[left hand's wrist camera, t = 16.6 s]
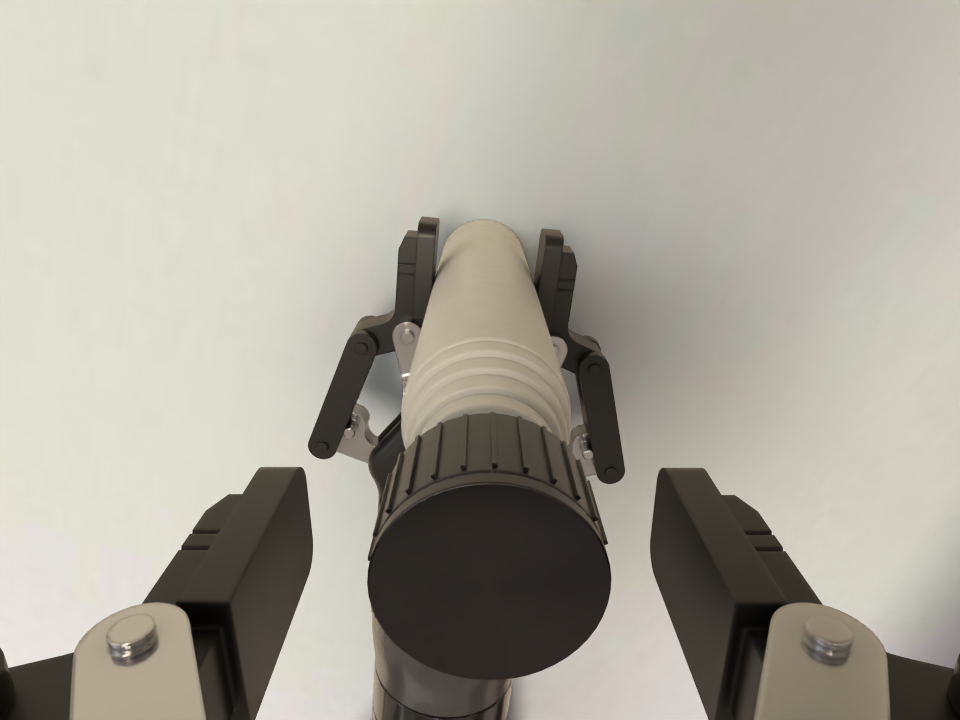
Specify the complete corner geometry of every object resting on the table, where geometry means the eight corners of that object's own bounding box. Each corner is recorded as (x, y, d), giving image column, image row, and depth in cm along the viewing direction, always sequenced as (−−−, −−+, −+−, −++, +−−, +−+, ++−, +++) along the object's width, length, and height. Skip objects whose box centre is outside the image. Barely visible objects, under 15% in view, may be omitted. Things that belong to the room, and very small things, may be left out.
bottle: (527, 220, 32) (631, 461, 10) (521, 302, 33) (602, 670, 11) (442, 217, 32) (358, 450, 10) (440, 298, 33) (364, 662, 11)
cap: (383, 403, 12) (359, 474, 9) (600, 412, 12) (629, 483, 9) (385, 581, 13) (366, 680, 11) (580, 587, 13) (601, 687, 11)
